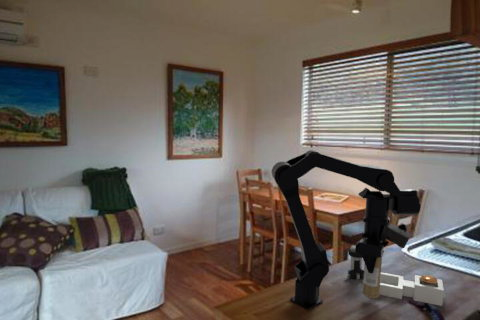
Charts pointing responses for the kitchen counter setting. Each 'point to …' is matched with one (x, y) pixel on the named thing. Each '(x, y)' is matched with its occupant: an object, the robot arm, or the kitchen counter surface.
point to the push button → (355, 265)
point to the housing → (411, 289)
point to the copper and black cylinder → (428, 280)
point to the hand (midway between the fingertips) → (372, 269)
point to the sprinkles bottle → (372, 280)
